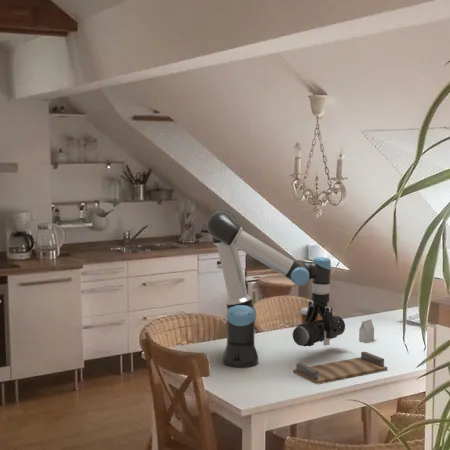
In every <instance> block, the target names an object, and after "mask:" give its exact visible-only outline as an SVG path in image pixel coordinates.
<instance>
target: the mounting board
mask: <svg viewBox="0 0 450 450" xmlns="http://www.w3.org/2000/svg"><path fill="white" fill-rule="evenodd" d="M295 365H296V366H295V367H296V368H294V369H293V370H292V371H293V374H295V375H297V376H300V377H302V378H304V379H306V380H308V381H310V382H312V383H314V384H316V383H317V384H316V385H319V384H318V383H320V384H324V383H323V382H325V383H330V382H334V381H340V380H344V378H345V379H350V378H354V377H359V376H365V375H369V374H370V375H371V374H374V372H375V373H379V371H380V372H384V370H385V371H388V367H387V366H385V358H382V357H380V356H377V355H375V354H372V353H370V352H367V351H361V355H360V357H355V358H349V359H344V360H338V361H333V362H327V363H321V364H317V365H311V366H307V365H305V364H304V363H301V362H298V363H295ZM364 374H365V375H364ZM329 381H330V382H329Z"/></svg>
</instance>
